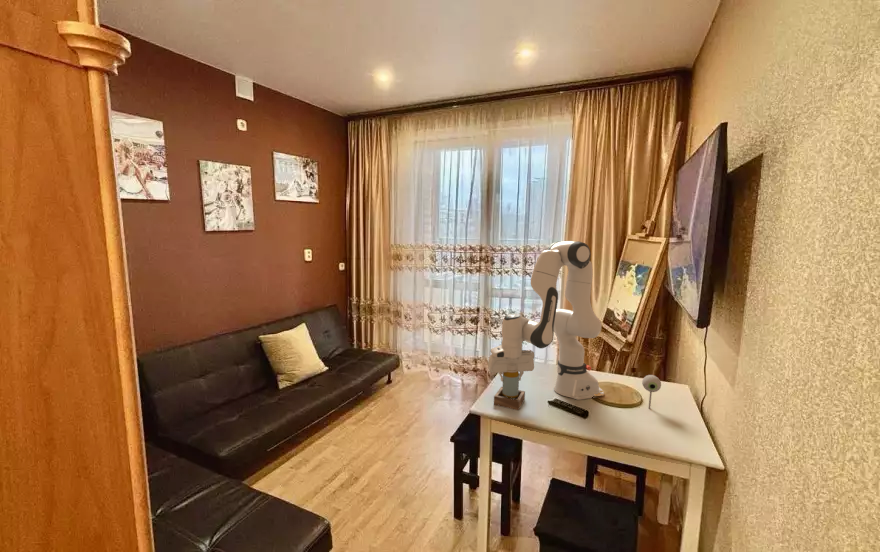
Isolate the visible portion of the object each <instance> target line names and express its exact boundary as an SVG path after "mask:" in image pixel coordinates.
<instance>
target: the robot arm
mask: <svg viewBox="0 0 880 552" xmlns="http://www.w3.org/2000/svg"><path fill="white" fill-rule="evenodd" d="M591 255H592V254H591V249H590V247H589V245H588V244H586V243H585V242H582V241H577V240H575V241H574V240H566V241H555V242H552V244H550V245H549V246H548V248H547V249H546V250H543V251H542V252H540V254H539V256H538V258H537V260H536V263H535V265H534V267H533V270H532V273H531V277H530V286H531V288H532V290H533V291H534V292H535V293H536V295H538V296H539V297H540V299H541V301H542V307H541V312H540V313H541V314H540V318H539V319H540V320H539V322H537V321H535V320H533V319H531V318H527V317H524V316H522V315H521V314H520V313H517V312H516V313H515V312H514V313H509V314H508V313H507V314H506V315H505V316H504V317H503V319H502V325H501V337H502V340H501V344H500V345H498V346H495V347H492V348H491V349H490V353H491V354H489V357H488V362H487V363H488V364H487V369H488V371H489V372H490V373H491V374H495V373H496V374H497V373H498V375H499V376H500V381H501V382H502V383H503V381H504V378H503V372H507V365H517V364H518V369H517V370H518V372H519V382H520V381H521V380H522V376H523V375H524V372H532V371H533V370H534V369H535V362H534V360H535V359H534V358H535V352H534V351H533V350H531V349H523V342H526V343H529V344H531V345H533V346H534V347H536V348H538V349H544V348H547V347H549V346H551V343H552V342H553V341H554V340H553V339H554V336H556V339H557V341H558V360H557V367H556V369H557V370H556V371H557V375H556V380H555V384H554V386H553V390H554V391H555V392H556V393H557V394H559V395H561V396H564V397H569V398H572V399H574V400H578V401H580V400H581V401H582V400H585V399H586V400H587V399H593V398H594V397H593V396H595V395H594V394H598V393H600V394H604V395H605V393H604V390H603V389H602V388H601V387H600V385H599V382H598V379H597V378H596V377H595V376H594V375H593V374H591V373H590V372H589V371H591V370H592V366H590V365H588V364H587V363H585V360H584V359H585V347H584V346H583V344H582V343H581V342H580V341H579V340H578V338H577V337H579V338H584V339H595V338H597V337H599V335H600V333H601V331H602V322H601V320H600V318H599V317H598V316H597V315H596V314H595V311H594V309H593V307H592V304H591V303H592V302H591V294H592V284H593V263H592V262H591ZM563 266H566V267H567V270H568V272H567V277H566V281H565V282H566V283H565V289H564V290H565V291H564V297H565V299H566V301H568V302H569V303H570V305H571V306H572V310H571V309H567V308H558V302H559V292H558V290H557V281H558V278H559V275H560V271H561V269H562V267H563ZM554 334H555V335H554ZM600 391H603V392H600ZM592 397H593V398H592Z"/></svg>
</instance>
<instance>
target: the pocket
mask: <svg viewBox="0 0 880 552" xmlns="http://www.w3.org/2000/svg"><path fill="white" fill-rule="evenodd" d="M502 389H503V386H500V388H499V389H498V390H497V392H496V393H495V394H494V395H493V406H497V407H502V408H506V409H509V410H510V409H511V410H516V411H519V410H520V409H521V406H522V405H523V404H524V402H525V399H526V397H525V396H526V391H524V390H520V389H519V392H518V396H517V397H516V398H507V397H505V396H504V395H503V393H502Z"/></svg>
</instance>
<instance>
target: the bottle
mask: <svg viewBox="0 0 880 552" xmlns="http://www.w3.org/2000/svg"><path fill="white" fill-rule="evenodd" d="M517 369H518V364H517V365H507V372H503V374H502V376H503V378H504V381H503V382H502V387H503V389H502V393H503V395H504V396H505V397H506V398H511V399H513V398H516V397H517V396H518V392H519V390H520V389H519V387H520V383H519V382H520V381H519V373H520V372H518V370H517ZM504 396H503V397H504Z"/></svg>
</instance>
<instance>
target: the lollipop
mask: <svg viewBox="0 0 880 552" xmlns="http://www.w3.org/2000/svg"><path fill="white" fill-rule="evenodd" d="M641 382H642V386H643V388H644V389H645V390H646V391H647V392H649V398H648V409H649V410H651V406H652V393H656V392H658V391H660V389H661V387H662V381H661V379H659V377H657V376H656V375H653V374H648V375H645V376H643V379H642V381H641Z"/></svg>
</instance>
